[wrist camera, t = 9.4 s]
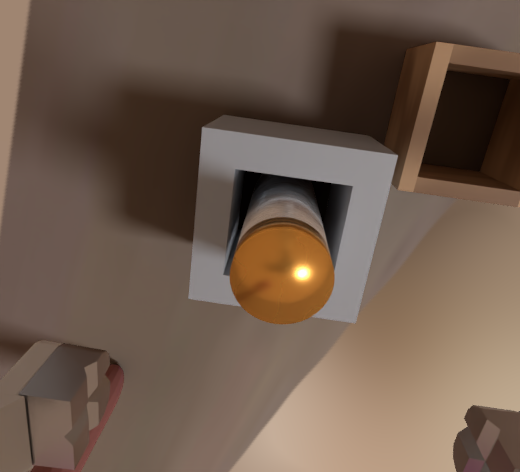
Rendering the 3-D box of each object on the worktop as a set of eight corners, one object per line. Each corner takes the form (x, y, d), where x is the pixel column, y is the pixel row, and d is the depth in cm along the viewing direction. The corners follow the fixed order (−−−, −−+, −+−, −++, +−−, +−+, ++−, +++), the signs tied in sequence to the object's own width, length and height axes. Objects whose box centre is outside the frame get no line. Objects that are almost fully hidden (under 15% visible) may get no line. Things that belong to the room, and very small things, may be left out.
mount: (406, 49, 23) (436, 41, 19) (529, 66, 23) (589, 63, 19) (377, 169, 26) (397, 189, 21) (488, 186, 26) (532, 209, 21)
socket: (223, 114, 25) (202, 127, 19) (369, 135, 25) (398, 155, 19) (210, 248, 29) (188, 298, 22) (339, 267, 28) (355, 323, 22)
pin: (257, 161, 26) (235, 222, 15) (319, 170, 26) (344, 238, 15) (249, 220, 28) (224, 316, 16) (308, 228, 28) (324, 330, 16)
